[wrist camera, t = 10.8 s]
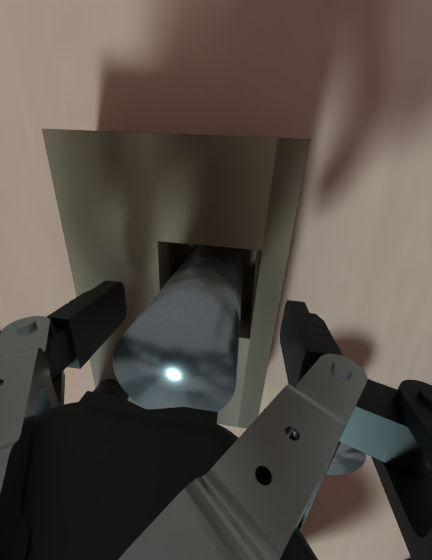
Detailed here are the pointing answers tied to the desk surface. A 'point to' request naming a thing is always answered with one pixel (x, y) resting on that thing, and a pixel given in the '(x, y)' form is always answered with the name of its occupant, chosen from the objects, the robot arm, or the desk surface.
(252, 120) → the desk surface
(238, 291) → the tall pin
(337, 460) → the short pin
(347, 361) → the robot arm
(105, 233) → the hole board
